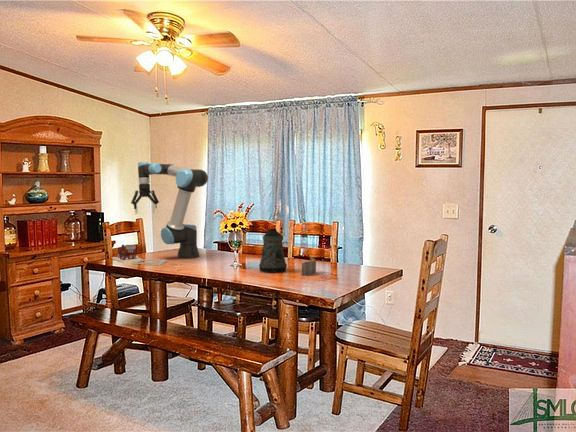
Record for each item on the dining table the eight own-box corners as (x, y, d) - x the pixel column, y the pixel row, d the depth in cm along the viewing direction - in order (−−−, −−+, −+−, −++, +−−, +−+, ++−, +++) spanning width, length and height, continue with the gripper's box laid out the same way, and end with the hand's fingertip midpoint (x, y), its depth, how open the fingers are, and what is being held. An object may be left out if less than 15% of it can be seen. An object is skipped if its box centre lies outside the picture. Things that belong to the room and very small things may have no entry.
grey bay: (166, 262, 333) (166, 259, 333) (159, 265, 320) (159, 263, 320) (139, 261, 334) (139, 259, 334) (132, 265, 321) (132, 262, 321)
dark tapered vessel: (273, 274, 292) (273, 231, 291) (250, 270, 305) (250, 229, 303) (292, 270, 305) (292, 229, 303) (268, 266, 317) (268, 227, 316)
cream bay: (112, 259, 343) (112, 257, 343) (130, 257, 352) (130, 255, 352) (122, 262, 330) (122, 260, 329) (141, 260, 338) (141, 258, 338)
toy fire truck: (118, 259, 343) (118, 243, 342) (137, 258, 345) (137, 243, 344) (116, 260, 336) (116, 245, 335) (136, 260, 338) (135, 244, 338)
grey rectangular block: (311, 273, 299) (311, 256, 298) (316, 273, 297) (316, 257, 297) (301, 276, 290) (301, 259, 289) (305, 276, 288) (305, 259, 287)
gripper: (157, 184, 372) (159, 213, 372) (125, 184, 356) (126, 214, 356) (162, 183, 367) (164, 212, 367) (129, 183, 350) (131, 213, 350)
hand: (145, 213), depth 361 cm, fingers open, 13 cm apart
